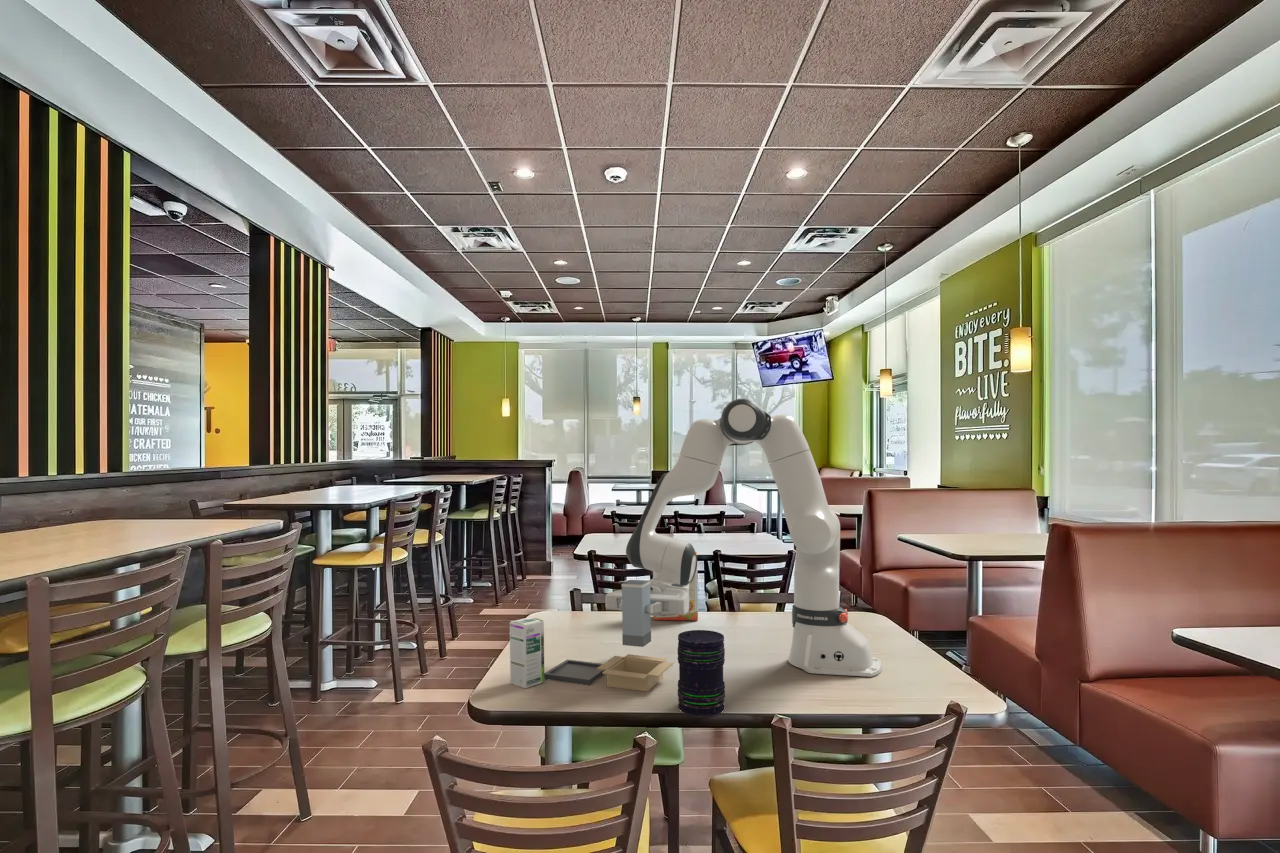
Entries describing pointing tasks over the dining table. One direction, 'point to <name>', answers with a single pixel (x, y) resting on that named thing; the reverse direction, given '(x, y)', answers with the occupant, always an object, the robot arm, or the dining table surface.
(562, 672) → the tray
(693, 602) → the cracker box
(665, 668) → the carton
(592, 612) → the dining table surface
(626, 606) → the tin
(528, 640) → the syrup box
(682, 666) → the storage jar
